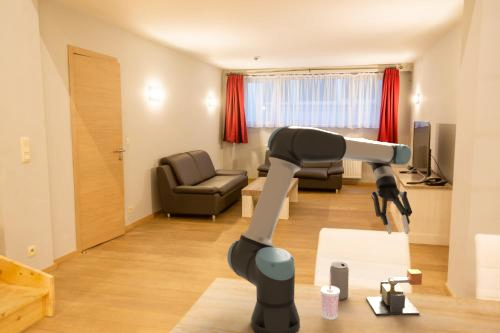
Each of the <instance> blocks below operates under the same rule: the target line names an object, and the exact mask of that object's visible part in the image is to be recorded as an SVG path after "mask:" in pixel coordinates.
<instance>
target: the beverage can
mask: <svg viewBox="0 0 500 333" xmlns="http://www.w3.org/2000/svg"><path fill="white" fill-rule="evenodd" d="M349 268H350V267H349V266H348V264H347V263H346V262H343V261H333V262H332V263H331V265H330V268H329V276H330V275H331V286H335V287H337V288H339V290H340V294H339V299H338V301H339V300H341V301H342V300H345V299H346V298H348V296H349V277H350V276H349V271H350V269H349Z"/></svg>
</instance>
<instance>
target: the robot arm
mask: <svg viewBox="0 0 500 333" xmlns="http://www.w3.org/2000/svg"><path fill="white" fill-rule="evenodd" d="M267 148H268V152H269V157H268V160H269V162H270V166H269V169H268V173H267V175H266V178H265V180H264V183H263V186H262V190H261V192H260V195H259V197H258V201H257V202H256V206H255V208H254V210H253V214H252V217H251V219H250V222H249V225H248V228H247V230H246V231H244V232H241V234H240V237H239V239H237V240H236V239H235V241H234V242H233V243H232V244H231V245H230V247H229V248H228V251H227V255H226V256H227V264H228V266H229V268H230V269H231V271H233V272H234V273H235V274H236V275H237V276H238V277H240V278H242V279H244V280H246V281H247V282H249V283H250V284H252V285H253V286H255V287H256V288H255V289H256V302H255V305H254V308H253V311H252V314H251V318H250V319H251V320H250V324H251V326H250V327H251V328H252V330H253V332H254V333H298V332H299V330H300V328H301V327H300V326H301V319H300V315H299V312H298V309H297V307H296V306H297V305H296V303H295V280H296V279H295V278H296V276H295V274H296V273H295V272H296V267H295V260H294V257H293V255H292V253H291V252H289V251H288V250H286V249H284V248H277V247H274V246H275V245H274V243H273V240H272V238H273V235H274V234H275V233H274V232H275V230H276V226H277V224H278V221H279V219H280V216H281V212H282V210H283V207H284V205H285V200H286V198H287V196H288V193H289V189H290V187H291V184H292V181H293V178H294V176H295V174H296V173H297V172H299V171H301V169H302V166H303V164H304V163H307V164H308V163H309V164H312V163H313V164H314V163H315V164H316V163H338V162H341V161H354V162H365V163H367V164H368V166H370V167H371V169H372V173H373V177H374V181H375V185H376V190H377V191H372V193H371V195H370V196H371V198H372V201H373V204H374V205H373V206H374V212H375V216H376V217H380V219H381V221H382V223H383V224H382V225H384V226H386V230H387V235H391V234H392V232H393V228H392V227H393V226H392V224H391V219H390V215H389V214H387V207H388V206H387V205H388V202H392V203H393V205H395V207H396V209H397V210H398V211H399V213H400V215H401V222H402V225H403V226H402V227H403V229H404V233H405V235H407V234H409V232H410V231H411V229H410V223H411V221H410V218H409V217H411V215H412V214H413V209H412V207H411V204H410V202H409V199H408V197H407V196H408V192H407V191H406V190H405V191H400V190H399V189H398V185H397V181H396V178H395V175H394V172H393V167H392V164H393V165H397V166H399V165H400V166H405V165H407V164H408V163H409V162H410V160H411V158H412V150H411V147H410V146H409V145H406V144H401V143H392V142H391V143H390V142H381V141H374V140H369V139H367V138H365V137H360V138H352V137H344V136H343V134H341V133H338V132H332V131H327V130H324V129H320V128H316V127H309V126H307V127H305V126H292V125H287V126H280V127H278V128H276V129H275V130H273V132H272V133H270V136H269V138H268V140H267ZM379 197H380V198H381V199H382V201H381V204H382V205H380V200H379ZM400 198H401V200H400Z"/></svg>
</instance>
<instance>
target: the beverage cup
mask: <svg viewBox="0 0 500 333" xmlns="http://www.w3.org/2000/svg"><path fill="white" fill-rule="evenodd" d="M320 293H321V308H322V309H321V310H322V317H323V318H324V319H326V320H330V321H331V320H336V319H337V318H338V309H339V308H338V307H339V294H340V290H339V288H337V287H335V286H331V275H330V274H329V285H323V286H322V287H321V288H320Z"/></svg>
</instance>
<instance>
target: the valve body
mask: <svg viewBox="0 0 500 333" xmlns="http://www.w3.org/2000/svg"><path fill="white" fill-rule="evenodd" d="M379 286H380V287H379V289H380V290H379V294H380V295H381V296H365V299H366V301H367V303H368V305H369V307H370V309H371V310H372V312H373V313H374V314H375V316H376V317H383V316H384V317H385V316H386V317H387V316H388V317H389V316H391V317H394V316H420V313H421V312H420V311H419V310H418V309H417V308H416V306H415V305H414V304H413V303H412V302H411V301H410V300H409V299H408V297H407V296H406V295H405V294H404V290H403V289H402V288H401V287H400V285H399V283H397V285H396V286H391V285H389V284H388V280H385V281H384V280H383V281H382V280H381V281H380V284H379Z"/></svg>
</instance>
